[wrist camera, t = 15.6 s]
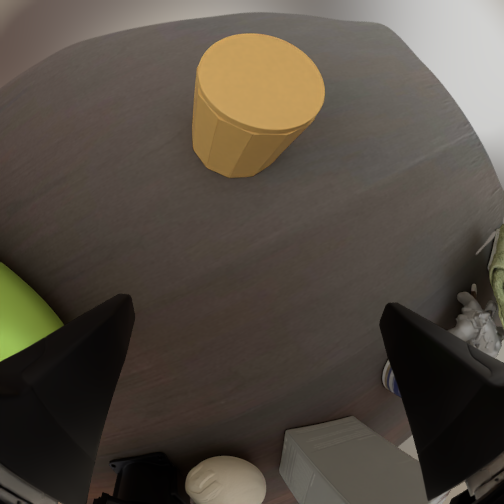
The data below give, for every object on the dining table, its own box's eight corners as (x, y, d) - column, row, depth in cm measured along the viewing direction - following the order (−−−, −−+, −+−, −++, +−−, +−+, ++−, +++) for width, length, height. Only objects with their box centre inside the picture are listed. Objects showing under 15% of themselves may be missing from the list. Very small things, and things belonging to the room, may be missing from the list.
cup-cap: (226, 194, 21) (252, 154, 12) (175, 126, 20) (173, 58, 11) (293, 150, 22) (347, 101, 14) (245, 90, 21) (274, 23, 13)
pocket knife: (472, 282, 29) (468, 286, 28) (477, 282, 28) (474, 286, 27) (468, 364, 29) (464, 370, 28) (472, 365, 28) (468, 371, 28)
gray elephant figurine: (449, 282, 27) (498, 287, 19) (481, 313, 29) (519, 319, 22) (422, 353, 26) (470, 371, 18) (459, 371, 28) (496, 384, 21)
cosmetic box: (276, 469, 22) (339, 575, 6) (285, 421, 22) (373, 539, 7) (344, 454, 24) (423, 532, 8) (358, 407, 24) (461, 483, 8)
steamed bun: (165, 495, 16) (182, 441, 20) (227, 501, 19) (244, 452, 23) (198, 529, 11) (220, 465, 15) (269, 526, 14) (289, 469, 18)
